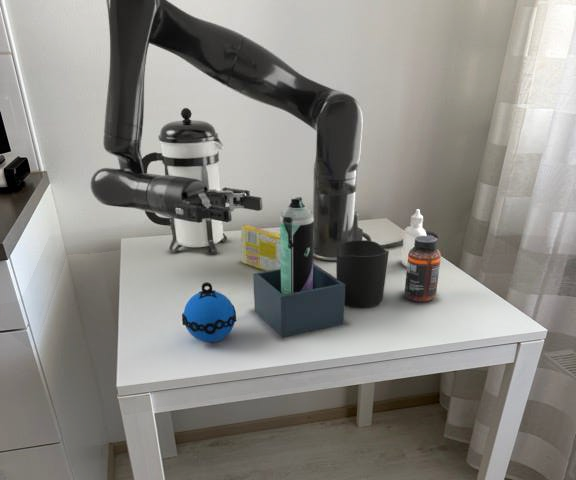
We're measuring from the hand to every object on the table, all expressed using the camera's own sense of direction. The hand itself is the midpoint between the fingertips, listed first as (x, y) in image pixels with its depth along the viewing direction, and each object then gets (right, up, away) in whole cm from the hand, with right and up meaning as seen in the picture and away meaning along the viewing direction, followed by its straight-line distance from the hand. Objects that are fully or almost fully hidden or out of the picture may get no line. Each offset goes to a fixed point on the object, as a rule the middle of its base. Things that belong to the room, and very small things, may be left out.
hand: (246, 209), depth 96 cm
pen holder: (+21, -14, +11) cm, 27 cm away
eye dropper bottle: (+34, -4, +26) cm, 43 cm away
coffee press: (-16, +3, +38) cm, 42 cm away
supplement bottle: (+32, -13, +11) cm, 37 cm away
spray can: (+9, -18, +4) cm, 20 cm away
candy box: (+3, -6, +24) cm, 25 cm away
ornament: (-6, -23, -3) cm, 24 cm away
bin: (+9, -18, +4) cm, 21 cm away
